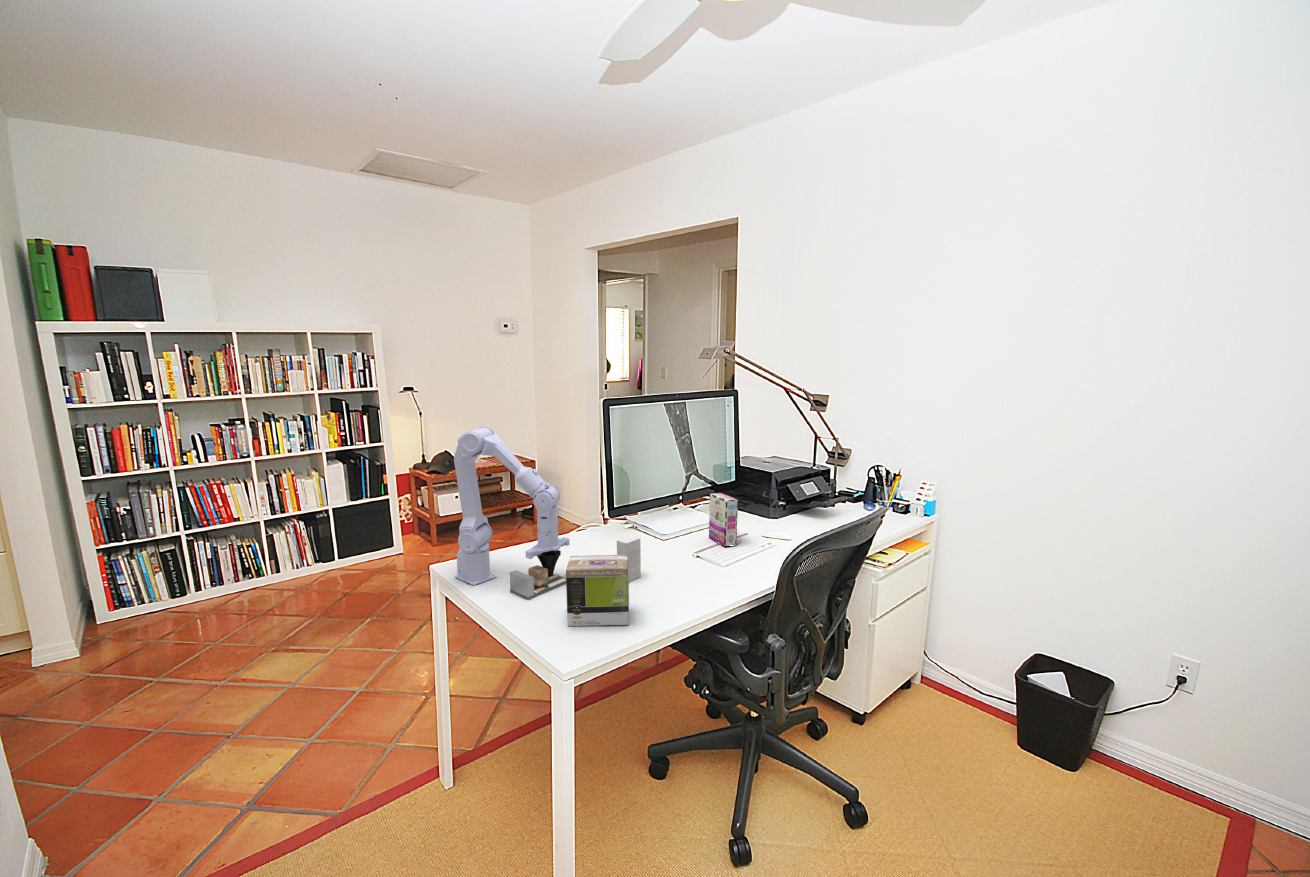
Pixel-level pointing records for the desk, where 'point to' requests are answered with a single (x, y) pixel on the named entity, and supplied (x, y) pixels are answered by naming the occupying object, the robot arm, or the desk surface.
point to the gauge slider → (539, 575)
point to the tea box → (597, 590)
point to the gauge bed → (532, 584)
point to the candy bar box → (723, 519)
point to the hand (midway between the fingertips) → (548, 575)
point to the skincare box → (631, 555)
